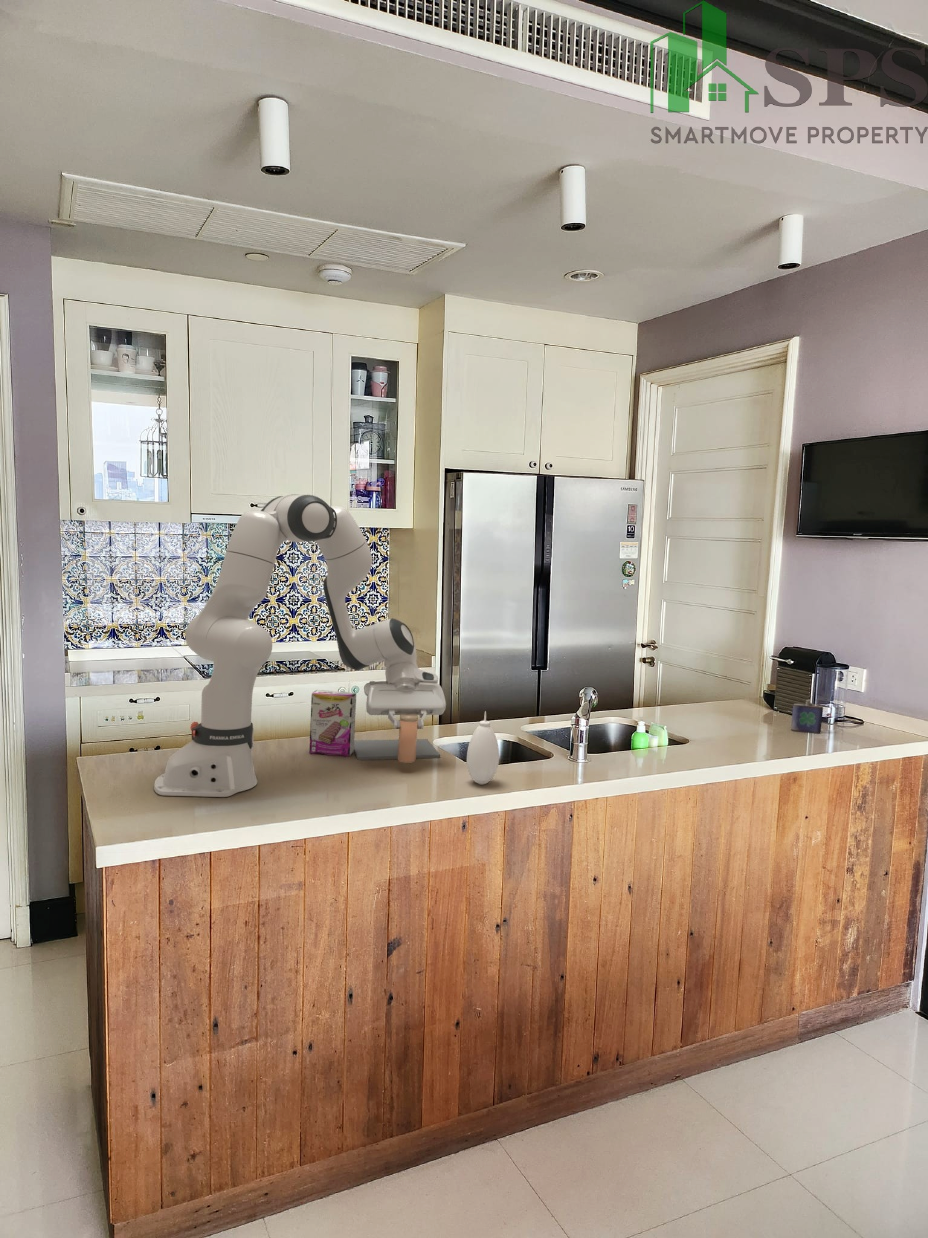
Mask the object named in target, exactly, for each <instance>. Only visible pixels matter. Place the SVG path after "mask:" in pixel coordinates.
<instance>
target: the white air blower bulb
mask: <svg viewBox="0 0 928 1238" xmlns="http://www.w3.org/2000/svg"><path fill="white" fill-rule="evenodd" d="M483 717H484V718H483V720H480V721H479V725H478V726H477V727H476V728H475V730H474V731H473V734H472V736H471V737H470V740H469V743H468V747H467V753H466V766H467V771H468V775H469V776H470V778H471V779H472V780H474V783H476V784H477V785H485V784H487V783H489V782H490V781H491V780H493V778H494V777H495V775H496V774H497V771H498V767H499V763H500V750H499V743H498V739H497V737H496V734H495V731H494V729H493V727H492V726H491V722H490V721H488V720H487V711H486V710H485V711H484V716H483Z"/></svg>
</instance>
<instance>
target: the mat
mask: <svg viewBox="0 0 928 1238" xmlns="http://www.w3.org/2000/svg"><path fill="white" fill-rule="evenodd" d="M398 745H399V739H365V740H364V739H361V740H359V739H357V740H355V739H354V752H355V753H354V752H353V753H354V755H355V757H356V759H357V761H368V760H369V761H370V760H371V761H372V760H373V761H375V760H377V761H378V760H398ZM440 758H441V754H440V752H439V751H438V750H437V749H436V747H434V745H433V744H432V743H431V742H430V740H429V739H428V738H417V744H416V759H440Z"/></svg>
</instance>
